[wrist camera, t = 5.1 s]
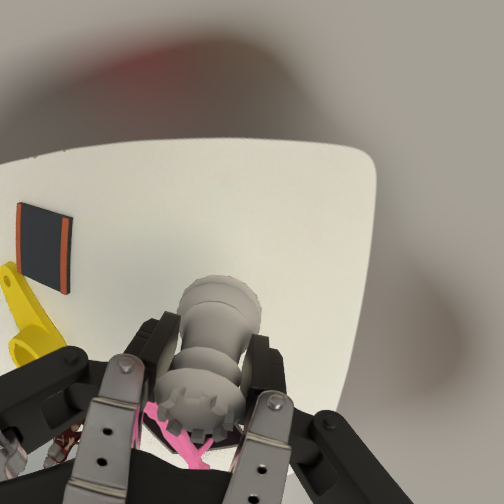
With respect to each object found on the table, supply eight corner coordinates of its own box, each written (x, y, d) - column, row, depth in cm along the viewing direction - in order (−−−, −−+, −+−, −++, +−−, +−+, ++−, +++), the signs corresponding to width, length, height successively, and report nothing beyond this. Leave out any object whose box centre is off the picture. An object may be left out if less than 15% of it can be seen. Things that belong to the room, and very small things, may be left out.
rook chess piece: (249, 350, 16) (245, 465, 9) (175, 331, 16) (130, 436, 8) (271, 283, 15) (284, 393, 7) (188, 261, 15) (128, 353, 7)
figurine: (77, 399, 37) (40, 458, 23) (103, 426, 39) (74, 486, 25) (58, 402, 38) (23, 455, 24) (83, 428, 40) (54, 481, 26)
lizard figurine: (178, 454, 40) (170, 485, 33) (109, 378, 35) (88, 411, 28) (253, 444, 38) (252, 480, 31) (191, 358, 33) (178, 399, 26)
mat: (21, 202, 28) (16, 203, 27) (73, 217, 28) (68, 219, 27) (20, 270, 30) (17, 272, 30) (70, 292, 31) (66, 295, 30)
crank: (78, 361, 34) (59, 385, 29) (48, 366, 35) (31, 387, 30) (20, 253, 30) (-8, 267, 24) (-3, 270, 31) (-28, 284, 25)
